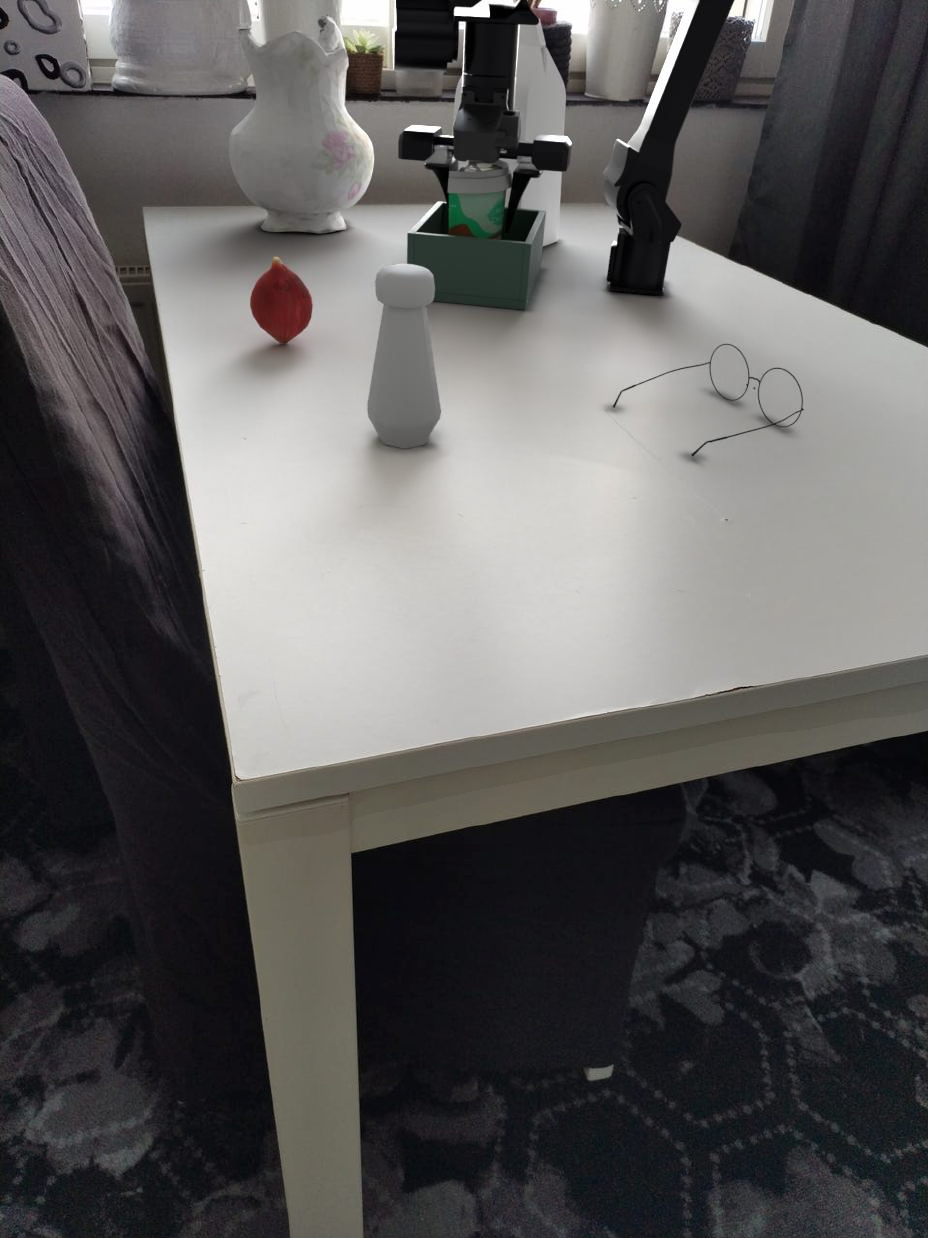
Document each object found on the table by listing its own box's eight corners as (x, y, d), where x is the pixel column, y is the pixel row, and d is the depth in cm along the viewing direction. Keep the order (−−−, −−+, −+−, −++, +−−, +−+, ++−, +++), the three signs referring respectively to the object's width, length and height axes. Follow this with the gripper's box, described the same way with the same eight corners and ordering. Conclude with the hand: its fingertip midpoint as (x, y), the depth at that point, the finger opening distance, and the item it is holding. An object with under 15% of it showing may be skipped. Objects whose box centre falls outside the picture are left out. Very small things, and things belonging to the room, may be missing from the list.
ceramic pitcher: (272, 210, 137) (244, 16, 123) (395, 209, 135) (381, 11, 120) (223, 244, 120) (183, 23, 105) (362, 244, 118) (341, 18, 103)
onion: (324, 338, 88) (320, 254, 83) (297, 357, 84) (291, 269, 79) (272, 329, 89) (265, 246, 85) (242, 347, 85) (234, 260, 80)
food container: (499, 273, 100) (504, 175, 94) (445, 269, 100) (448, 171, 94) (515, 247, 109) (521, 157, 103) (466, 243, 110) (469, 154, 104)
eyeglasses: (699, 462, 69) (713, 401, 66) (604, 403, 78) (613, 347, 75) (802, 439, 74) (820, 381, 71) (702, 386, 83) (714, 332, 80)
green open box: (540, 269, 113) (546, 210, 109) (525, 310, 99) (531, 244, 95) (436, 259, 114) (437, 200, 110) (406, 298, 100) (407, 232, 96)
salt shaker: (367, 421, 73) (364, 255, 65) (437, 422, 73) (442, 257, 65) (367, 452, 68) (364, 277, 60) (442, 453, 68) (448, 280, 61)
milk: (558, 240, 126) (580, 20, 110) (518, 256, 118) (536, 20, 102) (486, 226, 131) (498, 13, 115) (443, 240, 123) (450, 13, 107)
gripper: (385, 74, 88) (387, 240, 98) (571, 87, 86) (555, 254, 96) (409, 66, 97) (408, 218, 107) (578, 77, 95) (562, 231, 105)
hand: (481, 230), depth 103 cm, fingers closed on food container, 6 cm apart
